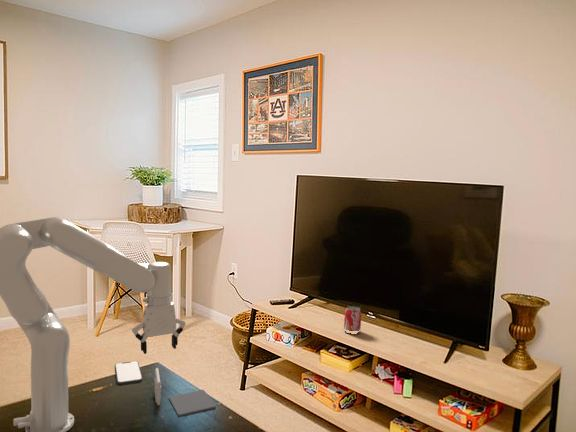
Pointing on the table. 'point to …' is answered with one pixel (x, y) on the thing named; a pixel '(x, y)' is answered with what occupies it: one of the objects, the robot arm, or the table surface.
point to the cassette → (157, 387)
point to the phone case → (128, 372)
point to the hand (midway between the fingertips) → (159, 349)
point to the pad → (191, 402)
